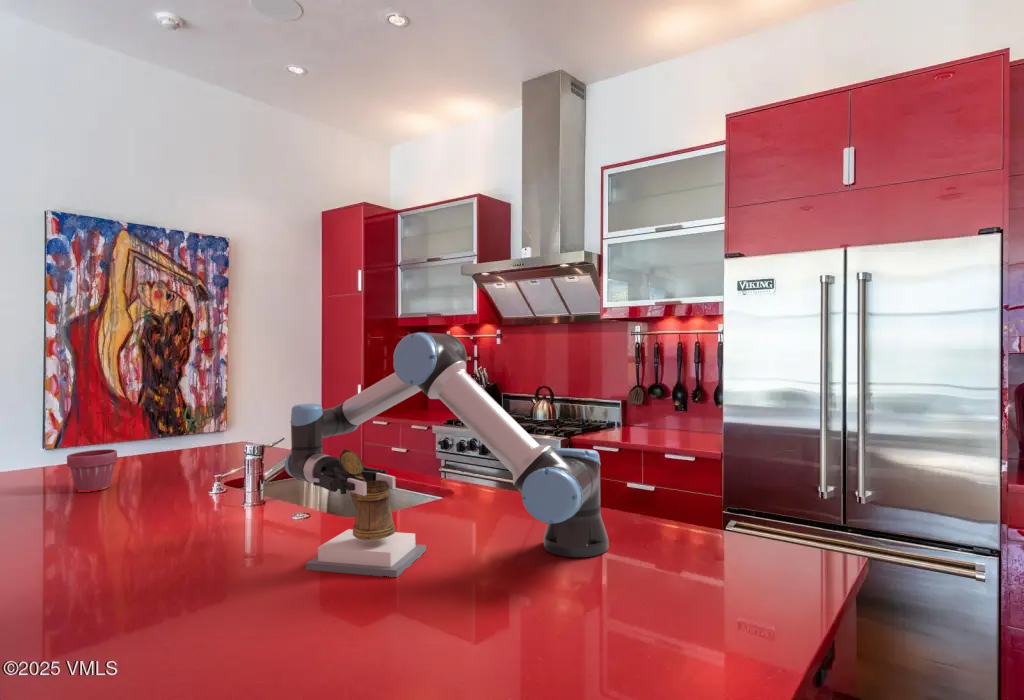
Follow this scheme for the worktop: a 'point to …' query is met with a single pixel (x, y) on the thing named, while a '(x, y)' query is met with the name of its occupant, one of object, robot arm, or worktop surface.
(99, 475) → the plant pot
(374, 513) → the wooden mug
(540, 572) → the worktop surface
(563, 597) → the worktop surface
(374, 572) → the plate
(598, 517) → the robot arm
